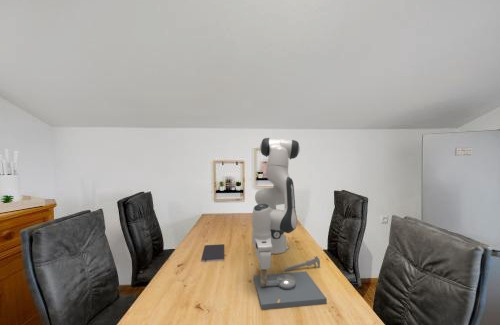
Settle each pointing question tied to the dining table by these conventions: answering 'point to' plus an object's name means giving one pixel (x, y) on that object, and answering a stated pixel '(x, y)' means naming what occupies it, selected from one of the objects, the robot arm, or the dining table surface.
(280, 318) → the dining table surface
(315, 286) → the base plate
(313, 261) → the caliper
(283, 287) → the wooden knob lever
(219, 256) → the notebook
